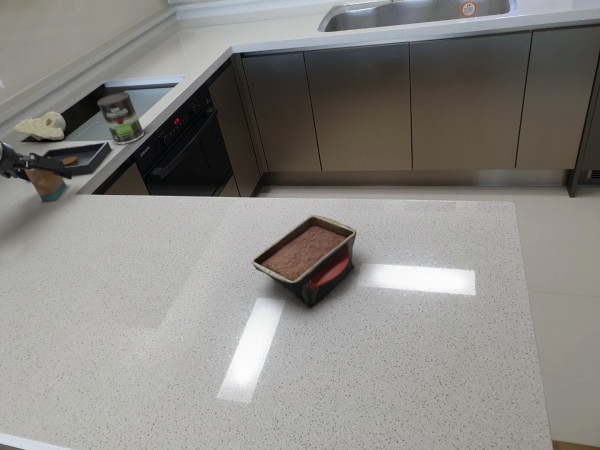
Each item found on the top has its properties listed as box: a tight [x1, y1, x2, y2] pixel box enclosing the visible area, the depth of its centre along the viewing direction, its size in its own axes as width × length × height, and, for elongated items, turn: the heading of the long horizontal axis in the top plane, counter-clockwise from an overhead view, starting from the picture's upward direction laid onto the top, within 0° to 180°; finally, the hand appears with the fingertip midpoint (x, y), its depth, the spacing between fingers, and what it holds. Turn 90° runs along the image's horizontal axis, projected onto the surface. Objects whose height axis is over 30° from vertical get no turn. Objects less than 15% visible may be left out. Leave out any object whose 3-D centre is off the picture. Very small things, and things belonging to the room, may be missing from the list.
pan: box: [27, 141, 113, 183], centre depth 146 cm, size 22×16×3 cm
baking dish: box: [251, 214, 357, 309], centre depth 84 cm, size 14×18×10 cm
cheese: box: [13, 110, 67, 142], centre depth 169 cm, size 15×7×15 cm
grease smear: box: [62, 157, 78, 167], centre depth 146 cm, size 5×5×1 cm
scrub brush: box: [25, 157, 68, 202], centre depth 129 cm, size 4×7×10 cm, turn 177°
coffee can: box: [96, 92, 145, 145], centre depth 154 cm, size 10×10×14 cm
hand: (53, 177), depth 132 cm, fingers open, 10 cm apart
